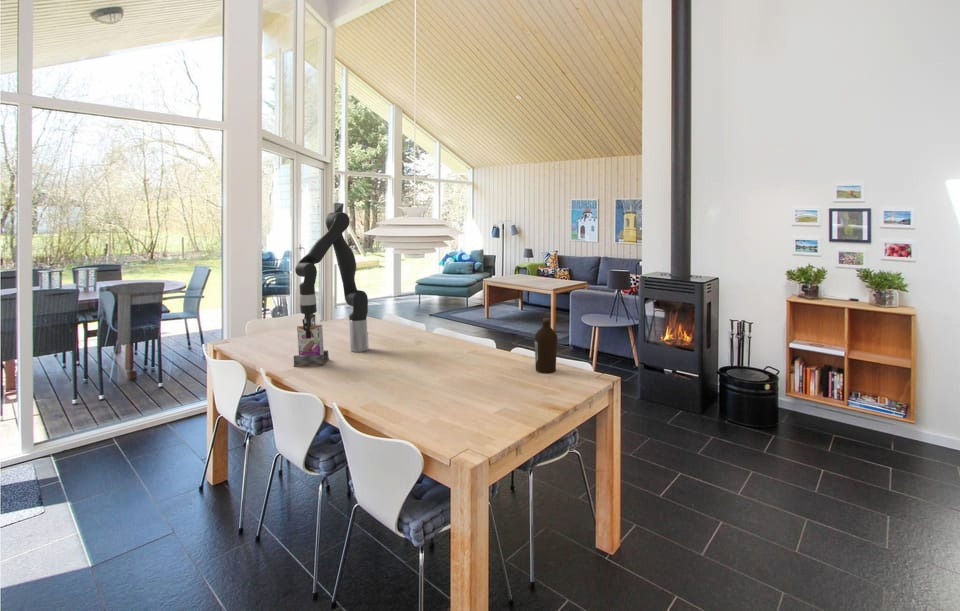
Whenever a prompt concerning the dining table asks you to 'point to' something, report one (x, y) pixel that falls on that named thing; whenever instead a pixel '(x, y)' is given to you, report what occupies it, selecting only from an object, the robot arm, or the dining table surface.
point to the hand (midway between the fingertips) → (310, 336)
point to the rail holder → (311, 360)
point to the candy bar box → (310, 341)
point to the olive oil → (545, 348)
